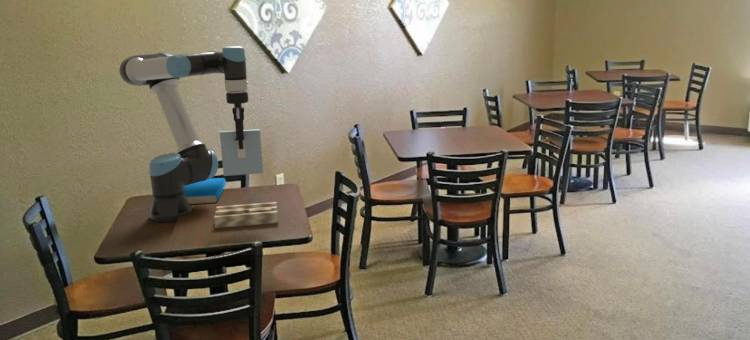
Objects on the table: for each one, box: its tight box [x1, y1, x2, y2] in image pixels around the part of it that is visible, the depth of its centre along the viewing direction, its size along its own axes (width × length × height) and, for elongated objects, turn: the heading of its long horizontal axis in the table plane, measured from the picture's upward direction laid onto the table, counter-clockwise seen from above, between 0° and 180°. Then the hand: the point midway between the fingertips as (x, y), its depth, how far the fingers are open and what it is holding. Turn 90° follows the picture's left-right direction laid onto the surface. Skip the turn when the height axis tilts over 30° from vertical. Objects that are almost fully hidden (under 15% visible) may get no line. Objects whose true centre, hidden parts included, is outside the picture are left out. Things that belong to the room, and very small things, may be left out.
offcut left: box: [217, 208, 244, 216], centre depth 216 cm, size 9×2×5 cm, turn 100°
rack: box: [213, 201, 279, 229], centre depth 220 cm, size 22×12×6 cm, turn 101°
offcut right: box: [249, 207, 272, 213], centre depth 218 cm, size 8×2×4 cm, turn 101°
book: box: [184, 177, 227, 205], centre depth 257 cm, size 17×4×25 cm
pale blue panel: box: [219, 128, 264, 177], centre depth 217 cm, size 14×2×16 cm, turn 100°
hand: (242, 156), depth 217 cm, fingers closed on pale blue panel, 2 cm apart
